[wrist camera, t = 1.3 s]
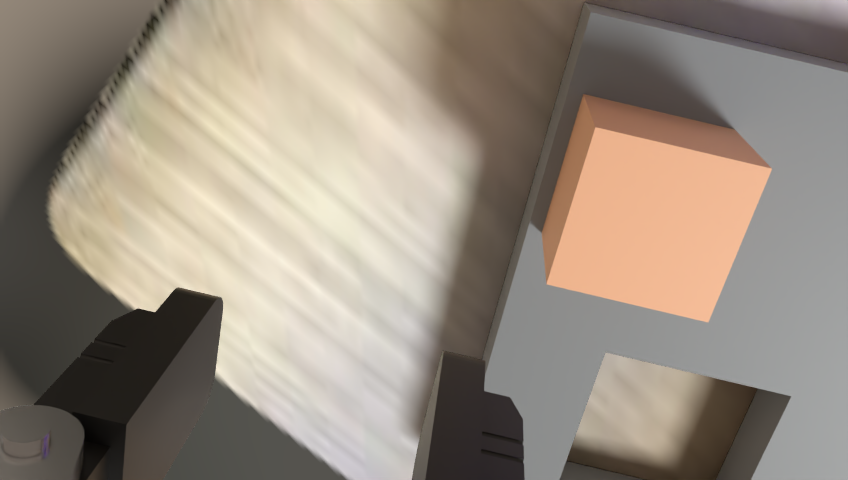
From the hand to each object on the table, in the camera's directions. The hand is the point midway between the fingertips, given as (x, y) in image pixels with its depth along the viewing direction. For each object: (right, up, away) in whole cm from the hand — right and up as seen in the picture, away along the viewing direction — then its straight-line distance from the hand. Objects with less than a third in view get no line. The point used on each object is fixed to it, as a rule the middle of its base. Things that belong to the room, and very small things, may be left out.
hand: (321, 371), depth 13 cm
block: (+9, +4, +13) cm, 17 cm away
